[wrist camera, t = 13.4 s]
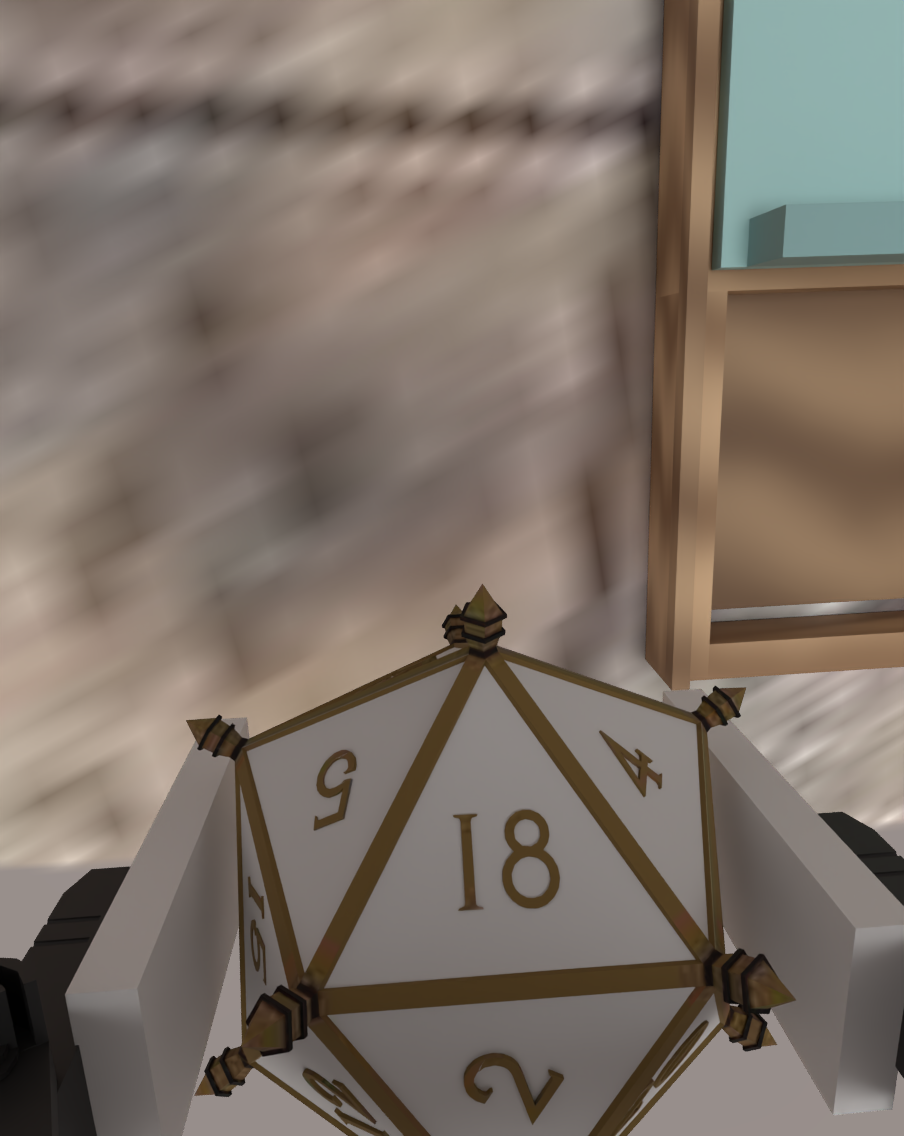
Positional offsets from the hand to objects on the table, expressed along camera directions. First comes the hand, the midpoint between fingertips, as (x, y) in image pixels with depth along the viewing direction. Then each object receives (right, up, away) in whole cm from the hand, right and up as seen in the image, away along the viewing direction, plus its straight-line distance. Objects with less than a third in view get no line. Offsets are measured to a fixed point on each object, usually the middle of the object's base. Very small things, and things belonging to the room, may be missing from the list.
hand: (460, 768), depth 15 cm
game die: (0, 0, 0) cm, 1 cm away
